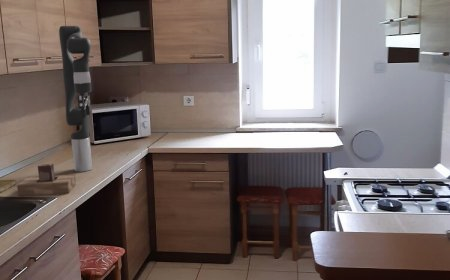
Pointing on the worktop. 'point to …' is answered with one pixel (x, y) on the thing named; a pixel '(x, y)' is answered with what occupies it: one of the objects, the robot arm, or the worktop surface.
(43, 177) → the box
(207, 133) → the worktop surface
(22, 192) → the slot beam
